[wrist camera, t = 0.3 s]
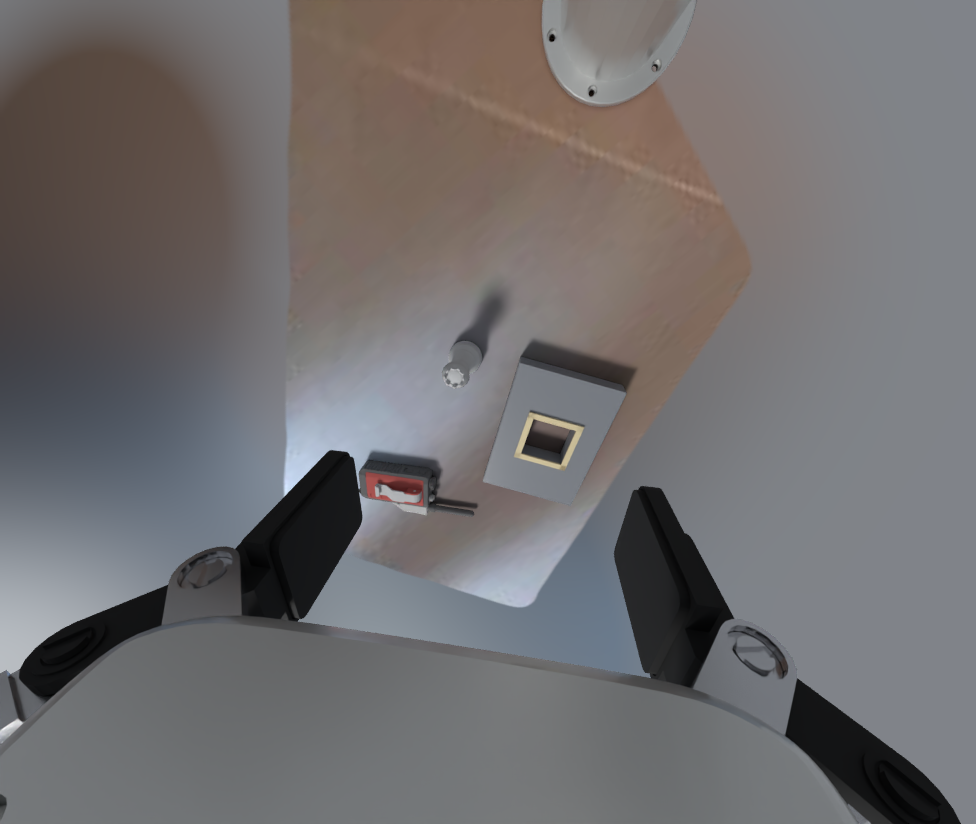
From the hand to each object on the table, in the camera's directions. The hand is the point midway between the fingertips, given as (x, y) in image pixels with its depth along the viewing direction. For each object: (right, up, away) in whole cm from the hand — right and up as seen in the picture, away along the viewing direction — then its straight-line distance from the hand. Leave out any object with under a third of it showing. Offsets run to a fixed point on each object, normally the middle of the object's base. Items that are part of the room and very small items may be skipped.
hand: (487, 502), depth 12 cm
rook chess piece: (-3, +11, +35) cm, 36 cm away
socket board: (+9, 0, +38) cm, 39 cm away
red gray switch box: (-12, -9, +47) cm, 49 cm away
